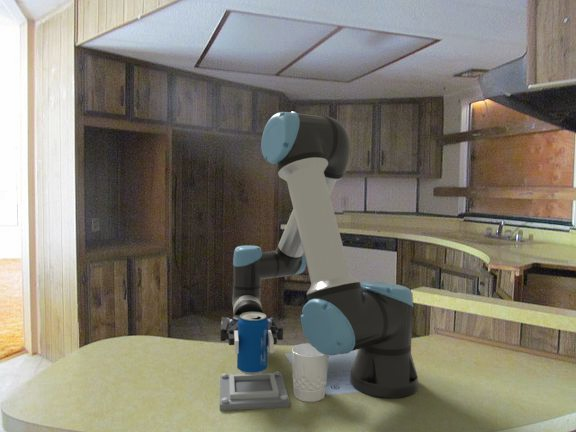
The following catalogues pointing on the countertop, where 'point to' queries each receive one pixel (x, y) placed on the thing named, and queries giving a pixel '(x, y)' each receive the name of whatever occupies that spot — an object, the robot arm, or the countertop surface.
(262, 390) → the socket plate
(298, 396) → the white cup
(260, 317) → the beverage can
